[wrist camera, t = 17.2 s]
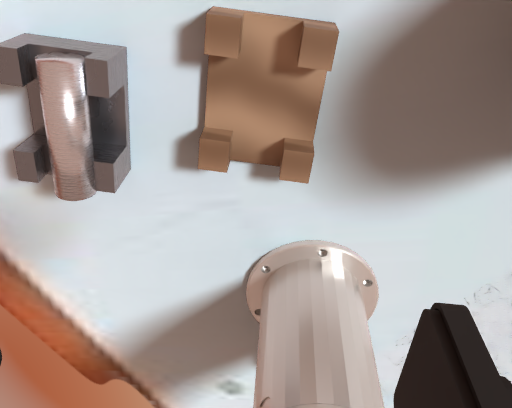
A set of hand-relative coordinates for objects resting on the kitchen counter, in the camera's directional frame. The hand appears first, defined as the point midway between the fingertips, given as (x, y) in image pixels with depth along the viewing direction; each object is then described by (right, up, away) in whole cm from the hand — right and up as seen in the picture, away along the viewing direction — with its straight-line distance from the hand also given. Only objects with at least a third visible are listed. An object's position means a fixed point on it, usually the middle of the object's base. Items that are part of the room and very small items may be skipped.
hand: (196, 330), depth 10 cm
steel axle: (-12, +8, +22) cm, 27 cm away
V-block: (-12, +10, +26) cm, 30 cm away
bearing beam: (+2, +11, +24) cm, 27 cm away
